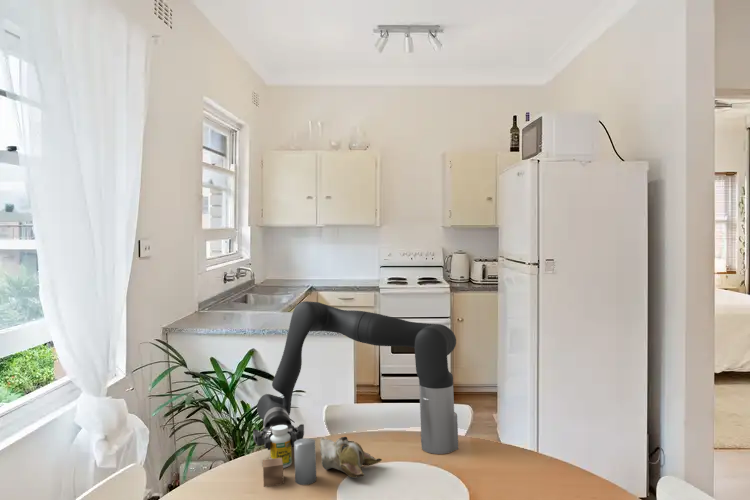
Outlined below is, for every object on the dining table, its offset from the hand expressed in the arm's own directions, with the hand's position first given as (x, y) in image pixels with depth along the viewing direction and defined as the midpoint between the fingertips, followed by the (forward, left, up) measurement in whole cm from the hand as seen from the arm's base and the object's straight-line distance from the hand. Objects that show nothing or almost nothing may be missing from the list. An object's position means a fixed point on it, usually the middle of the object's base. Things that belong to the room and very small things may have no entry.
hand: (281, 444), depth 125 cm
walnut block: (+2, +6, -6) cm, 9 cm away
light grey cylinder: (-5, +8, -6) cm, 12 cm away
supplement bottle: (0, -3, -6) cm, 7 cm away
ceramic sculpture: (-15, +7, -6) cm, 18 cm away
